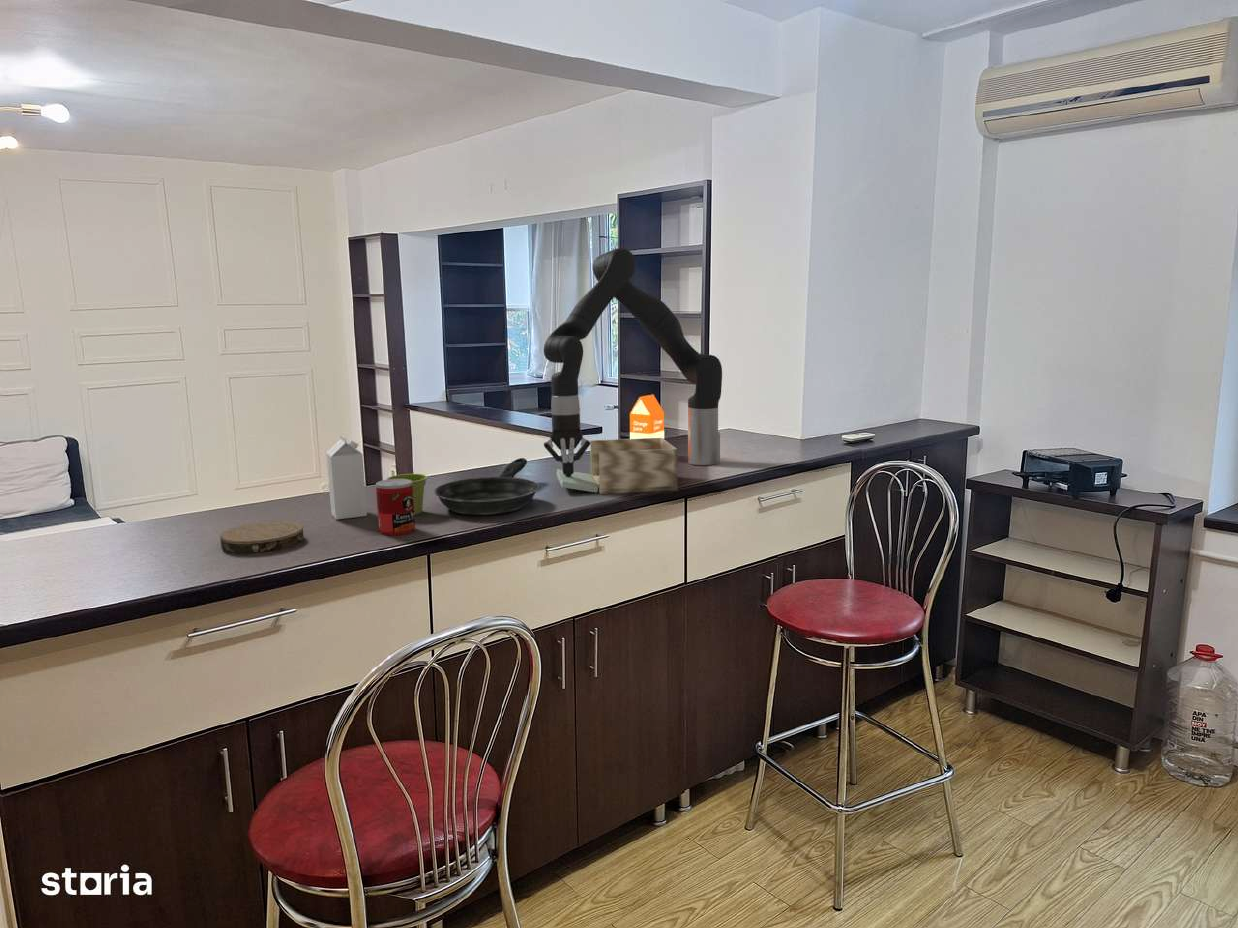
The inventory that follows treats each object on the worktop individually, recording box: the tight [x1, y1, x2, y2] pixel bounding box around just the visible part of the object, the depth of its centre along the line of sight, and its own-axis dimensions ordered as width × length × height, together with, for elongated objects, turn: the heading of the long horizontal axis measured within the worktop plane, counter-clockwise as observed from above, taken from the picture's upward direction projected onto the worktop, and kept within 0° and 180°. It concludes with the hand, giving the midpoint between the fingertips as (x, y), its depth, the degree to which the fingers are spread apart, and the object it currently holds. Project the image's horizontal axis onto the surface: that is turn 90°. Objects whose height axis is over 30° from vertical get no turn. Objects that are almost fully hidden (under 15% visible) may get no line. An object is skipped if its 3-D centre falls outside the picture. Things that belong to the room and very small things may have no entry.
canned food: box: [375, 478, 416, 536], centre depth 178 cm, size 8×8×11 cm
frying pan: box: [434, 457, 539, 516], centre depth 209 cm, size 44×25×7 cm, turn 168°
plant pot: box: [385, 473, 428, 516], centre depth 194 cm, size 9×9×9 cm
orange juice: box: [629, 394, 665, 440], centre depth 261 cm, size 8×9×20 cm
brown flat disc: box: [219, 520, 305, 555], centre depth 171 cm, size 16×16×3 cm
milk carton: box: [325, 434, 368, 520], centre depth 192 cm, size 7×7×19 cm
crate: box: [589, 438, 678, 495], centre depth 222 cm, size 20×20×11 cm
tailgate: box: [556, 468, 599, 494], centre depth 220 cm, size 2×17×9 cm
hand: (568, 475), depth 220 cm, fingers closed
